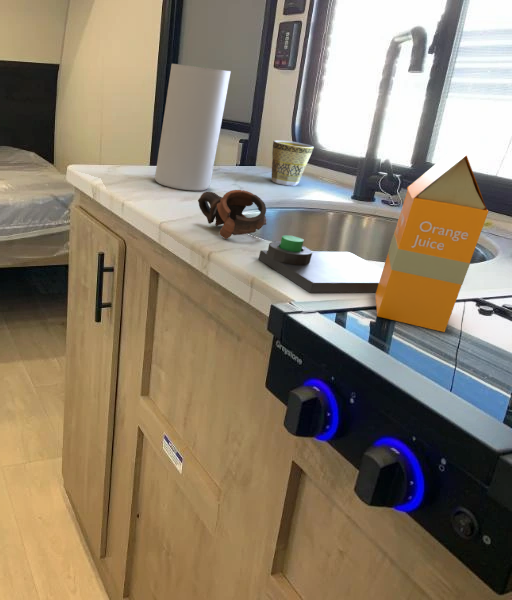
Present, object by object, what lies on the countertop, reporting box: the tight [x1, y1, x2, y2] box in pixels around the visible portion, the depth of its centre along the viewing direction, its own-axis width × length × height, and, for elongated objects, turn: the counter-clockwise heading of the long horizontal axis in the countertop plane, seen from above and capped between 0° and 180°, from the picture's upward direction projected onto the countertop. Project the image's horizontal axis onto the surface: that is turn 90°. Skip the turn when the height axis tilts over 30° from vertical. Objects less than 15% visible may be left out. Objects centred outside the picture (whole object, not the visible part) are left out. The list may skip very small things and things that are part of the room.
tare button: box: [280, 235, 305, 252], centre depth 85 cm, size 3×3×2 cm
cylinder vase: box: [154, 63, 232, 192], centre depth 131 cm, size 12×12×25 cm
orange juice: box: [374, 146, 489, 333], centre depth 71 cm, size 8×9×20 cm
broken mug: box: [197, 189, 267, 240], centre depth 100 cm, size 12×10×8 cm
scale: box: [258, 240, 383, 294], centre depth 85 cm, size 16×13×3 cm
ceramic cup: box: [270, 139, 314, 187], centre depth 155 cm, size 13×10×10 cm
